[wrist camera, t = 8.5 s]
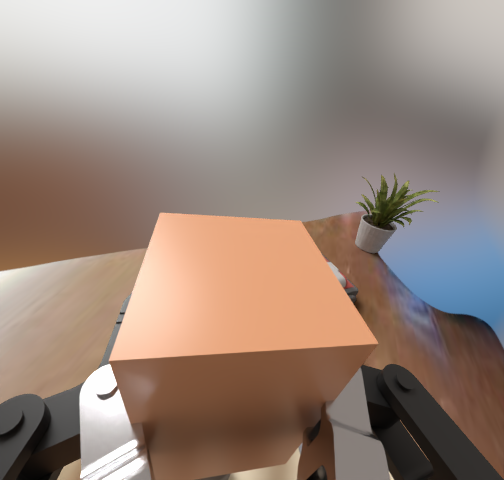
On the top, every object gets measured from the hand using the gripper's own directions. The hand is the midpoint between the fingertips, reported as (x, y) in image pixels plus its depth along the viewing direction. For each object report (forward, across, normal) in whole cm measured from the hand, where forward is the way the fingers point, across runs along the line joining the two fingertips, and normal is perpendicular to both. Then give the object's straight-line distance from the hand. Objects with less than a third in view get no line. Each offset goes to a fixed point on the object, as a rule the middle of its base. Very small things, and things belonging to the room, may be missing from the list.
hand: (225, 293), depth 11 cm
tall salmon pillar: (-3, 0, +5) cm, 6 cm away
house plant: (+29, -36, +18) cm, 50 cm away
